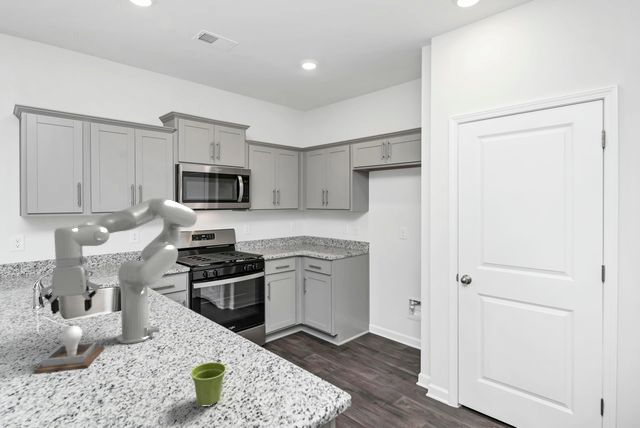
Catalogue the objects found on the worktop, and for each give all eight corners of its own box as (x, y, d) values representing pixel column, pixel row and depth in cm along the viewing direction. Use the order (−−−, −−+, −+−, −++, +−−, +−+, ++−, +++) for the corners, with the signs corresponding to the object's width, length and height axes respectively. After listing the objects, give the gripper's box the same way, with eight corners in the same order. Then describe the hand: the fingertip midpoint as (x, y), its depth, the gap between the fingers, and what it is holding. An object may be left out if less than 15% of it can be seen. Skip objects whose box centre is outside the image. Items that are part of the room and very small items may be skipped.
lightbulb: (79, 351, 122) (79, 321, 121) (85, 356, 118) (84, 325, 117) (58, 357, 117) (58, 326, 117) (63, 363, 113) (63, 330, 113)
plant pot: (230, 390, 98) (229, 361, 98) (221, 410, 89) (221, 378, 89) (197, 391, 98) (197, 362, 98) (185, 411, 89) (185, 379, 88)
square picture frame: (98, 348, 125) (97, 341, 124) (84, 363, 113) (83, 356, 113) (60, 351, 121) (60, 345, 121) (42, 367, 110) (42, 360, 110)
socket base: (104, 348, 126) (104, 346, 126) (87, 367, 112) (87, 364, 112) (57, 353, 123) (57, 350, 123) (34, 373, 108) (34, 370, 108)
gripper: (102, 259, 122) (104, 305, 123) (46, 262, 118) (48, 310, 118) (93, 263, 115) (95, 312, 116) (33, 266, 110) (36, 317, 111)
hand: (72, 311), depth 117 cm, fingers open, 9 cm apart
